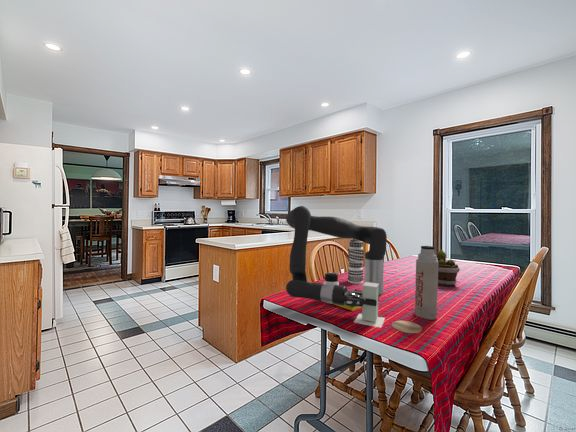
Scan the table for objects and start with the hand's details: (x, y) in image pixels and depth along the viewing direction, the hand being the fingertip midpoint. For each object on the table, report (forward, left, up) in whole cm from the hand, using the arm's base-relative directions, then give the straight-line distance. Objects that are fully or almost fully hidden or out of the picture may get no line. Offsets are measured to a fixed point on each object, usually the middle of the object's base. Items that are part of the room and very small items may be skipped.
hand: (377, 300), depth 107 cm
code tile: (0, -3, -8) cm, 9 cm away
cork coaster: (0, +10, -8) cm, 13 cm away
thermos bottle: (-16, +16, -8) cm, 24 cm away
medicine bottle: (-18, -24, -8) cm, 31 cm away
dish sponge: (-12, -16, -8) cm, 22 cm away
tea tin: (0, -3, -7) cm, 8 cm away
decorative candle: (-54, -21, -8) cm, 58 cm away
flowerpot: (-74, +25, -8) cm, 79 cm away
